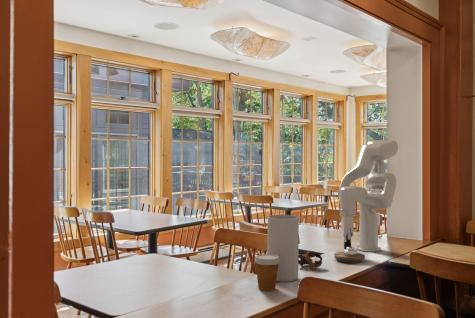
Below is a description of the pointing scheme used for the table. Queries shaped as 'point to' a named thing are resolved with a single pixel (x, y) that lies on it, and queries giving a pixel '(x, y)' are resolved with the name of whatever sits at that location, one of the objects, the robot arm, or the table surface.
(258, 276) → the disposable coffee cup
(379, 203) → the robot arm
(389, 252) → the table surface
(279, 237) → the cylinder vase
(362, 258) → the disc
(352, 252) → the cover
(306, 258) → the brown ornate stand
